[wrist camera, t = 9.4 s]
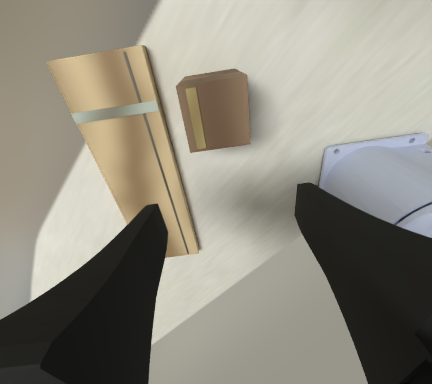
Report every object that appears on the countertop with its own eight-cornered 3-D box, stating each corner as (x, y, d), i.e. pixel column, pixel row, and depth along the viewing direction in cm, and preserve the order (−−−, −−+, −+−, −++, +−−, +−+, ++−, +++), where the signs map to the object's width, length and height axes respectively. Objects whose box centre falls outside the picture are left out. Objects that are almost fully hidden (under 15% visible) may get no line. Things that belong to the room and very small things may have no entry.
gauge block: (234, 68, 16) (247, 75, 11) (238, 120, 19) (250, 144, 14) (184, 76, 17) (175, 86, 12) (194, 126, 19) (190, 153, 14)
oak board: (144, 45, 15) (140, 45, 14) (198, 247, 28) (198, 254, 27) (54, 61, 16) (44, 61, 15) (147, 253, 28) (145, 260, 27)
